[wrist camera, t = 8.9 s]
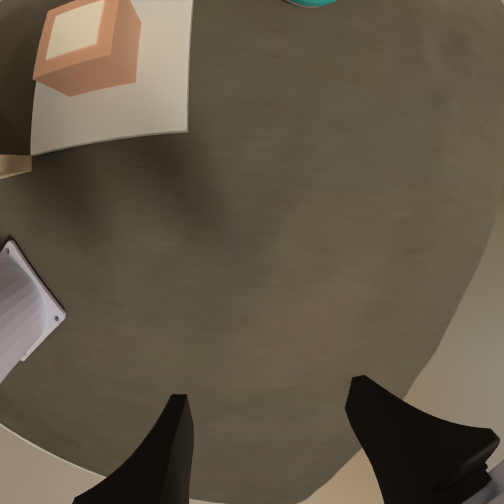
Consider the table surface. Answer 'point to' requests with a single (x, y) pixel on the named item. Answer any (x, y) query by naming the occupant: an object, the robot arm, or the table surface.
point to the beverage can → (310, 3)
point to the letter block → (88, 46)
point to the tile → (126, 89)
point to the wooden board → (14, 165)
